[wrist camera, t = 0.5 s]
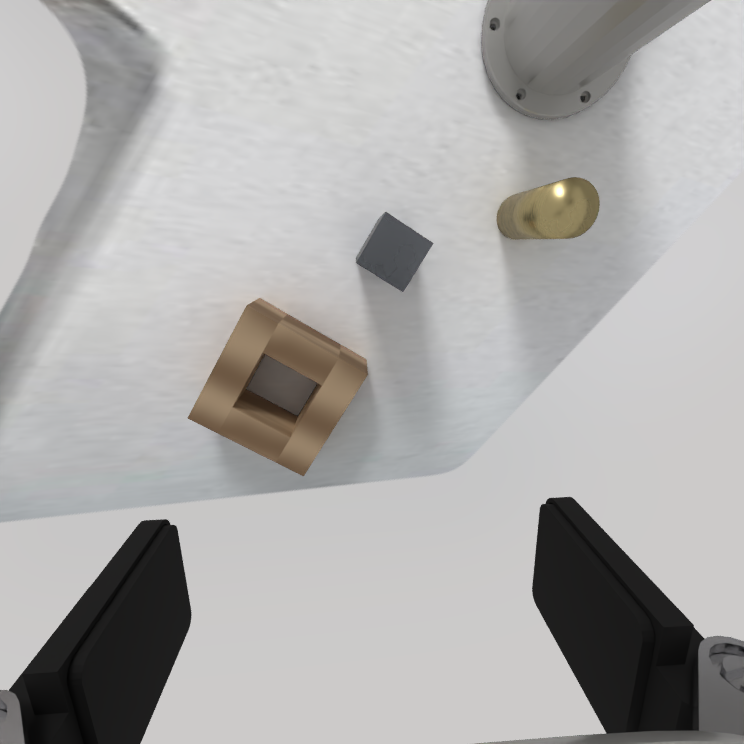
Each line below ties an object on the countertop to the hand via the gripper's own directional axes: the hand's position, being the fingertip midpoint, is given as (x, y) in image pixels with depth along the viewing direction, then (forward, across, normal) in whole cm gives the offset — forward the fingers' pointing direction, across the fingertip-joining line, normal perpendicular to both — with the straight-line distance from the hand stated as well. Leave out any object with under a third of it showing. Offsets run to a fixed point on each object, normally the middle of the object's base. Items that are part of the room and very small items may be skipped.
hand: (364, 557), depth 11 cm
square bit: (+32, -4, -8) cm, 33 cm away
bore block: (+32, +7, +4) cm, 33 cm away
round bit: (+31, -16, -11) cm, 37 cm away
